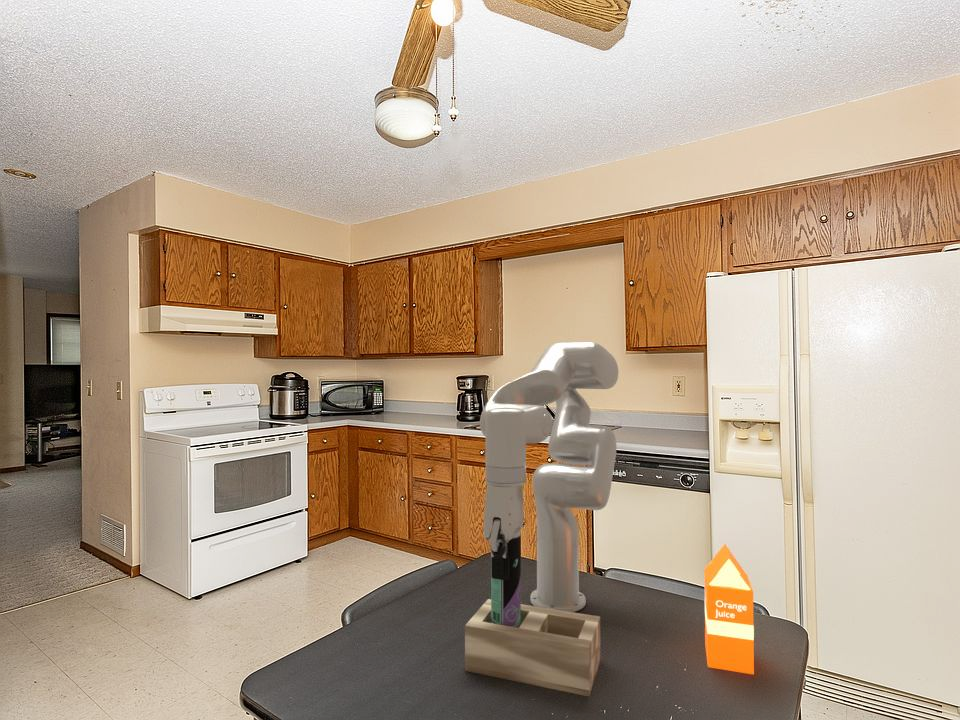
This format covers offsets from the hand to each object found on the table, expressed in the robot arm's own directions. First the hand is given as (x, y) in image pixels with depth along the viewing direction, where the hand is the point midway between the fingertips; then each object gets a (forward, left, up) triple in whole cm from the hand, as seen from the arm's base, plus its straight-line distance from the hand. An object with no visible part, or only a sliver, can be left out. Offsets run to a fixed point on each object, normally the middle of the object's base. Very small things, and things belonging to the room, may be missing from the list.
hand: (505, 572), depth 102 cm
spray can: (0, 0, -10) cm, 10 cm away
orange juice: (-15, +38, -16) cm, 44 cm away
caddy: (0, +5, -16) cm, 17 cm away
